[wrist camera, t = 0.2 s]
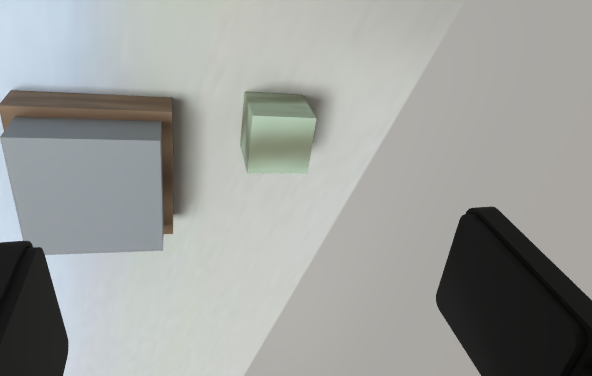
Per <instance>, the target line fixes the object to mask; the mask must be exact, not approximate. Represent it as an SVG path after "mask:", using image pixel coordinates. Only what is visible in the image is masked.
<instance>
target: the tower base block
mask: <svg viewBox="0 0 592 376" xmlns="http://www.w3.org/2000/svg"><path fill="white" fill-rule="evenodd" d="M0 115H1V119H2V124H3V129H4V131H5V130H6V128H7V127H8V125H9V124H10V123H11V121H12V120H13V118H14V117H45V118H77V119H109V120H141V121H161V127H162V172H163V217H164V232H163V234H173V139H172V98H168V97H146V96H123V95H101V94H79V93H56V92H34V91H12V90H11V91H10V92H9V93H8V94H7V96H6V97H5V98H4V99H3V101H2V102H1V103H0Z"/></svg>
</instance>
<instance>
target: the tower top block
mask: <svg viewBox="0 0 592 376" xmlns="http://www.w3.org/2000/svg"><path fill="white" fill-rule="evenodd" d="M0 139H1V144H2V148H3V153H4V157H5V162H6V166H7V170H8V175H9V179H10V184H11V188H12V193H13V197H14V202H15V206H16V211H17V215H18V219H19V224H20V228H21V233H22V237H23V241H30V242H31V243H32V245H33V247H41V248H42V249H43V251H44V254H45V255H55V254H82V253H109V252H137V251H163V232H164V217H163V172H162V127H161V121H141V120H109V119H77V118H45V117H14V118H13V120H12V121H11V123H10V124H9V125H8V127H7V128H6V130H5V131H4V133H3V134H2V135H1V137H0Z"/></svg>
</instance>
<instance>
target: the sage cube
mask: <svg viewBox="0 0 592 376" xmlns="http://www.w3.org/2000/svg"><path fill="white" fill-rule="evenodd" d="M316 119H317V118H316V116H315V115H314V113H313V111H312V110H311V108H310V107H309V105H308V103H307V102H306V100H305V98H304V97H303V95H298V94H279V93H259V92H245V93H244V105H243V118H242V130H241V143H240V146H241V150H242V154H243V158H244V162H245V166H246V170H247V173H272V174H307V172H308V166H309V160H310V154H311V148H312V142H313V137H314V131H315V125H316Z"/></svg>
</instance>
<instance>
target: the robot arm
mask: <svg viewBox="0 0 592 376" xmlns="http://www.w3.org/2000/svg"><path fill="white" fill-rule="evenodd" d="M436 302H437V306H438V308H439V310H440V312H441V313H442V315H443V316H444V318H445V319H446V321H447V322H448V324H449V326H450V327H451V329H452V331H453V332H454V334H455V335H456V337H457V338H458V340H459V341H460V343H461V344H462V346H463V348H464V349H465V351H466V352H467V354H468V356H469V357H470V359H471V360H472V362H473V363H474V365H475V367H476V368H477V370H478V371H479V373H480V374H481V376H592V300H591V299H590V298H589V297H588V296H586V295H585V293H583V292H582V291H581V290H580V289H579V288H578V287H577V286H576V285H575V284H574V283H573V282H572V281H571V280H570V279H569V278H568V277H567V276H566V275H565V274H564V273H563V272H562V271H561V270H560V269H559V268H558V267H556V265H555V264H554V263H552V262H551V261H550V260H549V259H548V258H547V257H546V256H545V255H544V254H543V253H542V252H541V251H540V250H539V249H538V248H537V247H536V246H535V245H534V244H533V243H532V242H531V241H530V240H529V239H528V238H527V237H526V236H525V235H524V234H523V233H522V232H520V230H519V229H517V228H516V227H515V226H514V225H513V224H512V223H511V222H510V221H509V220H508V219H507V218H506V217H505V216H504V215H503V214H502V213H501V212H500V211H499V210H498V209H496V208H495V207H479V208H471V209H469V210H468V211H467V212H466V214H465V215H463V216H462V217H461V218H460V220H459V224H458V227H457V230H456V233H455V236H454V239H453V243H452V246H451V249H450V252H449V256H448V259H447V262H446V265H445V268H444V271H443V275H442V278H441V281H440V284H439V287H438V291H437V294H436ZM67 356H68V338H67V334H66V330H65V326H64V323H63V319H62V316H61V312H60V308H59V305H58V301H57V298H56V294H55V290H54V287H53V283H52V280H51V276H50V272H49V269H48V265H47V262H46V258H45V254H44V251H43V249H42V248H41V247H33V245H32V243H31V242H30V241H15V242H2V243H0V376H63V373H64V369H65V364H66V360H67Z"/></svg>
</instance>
